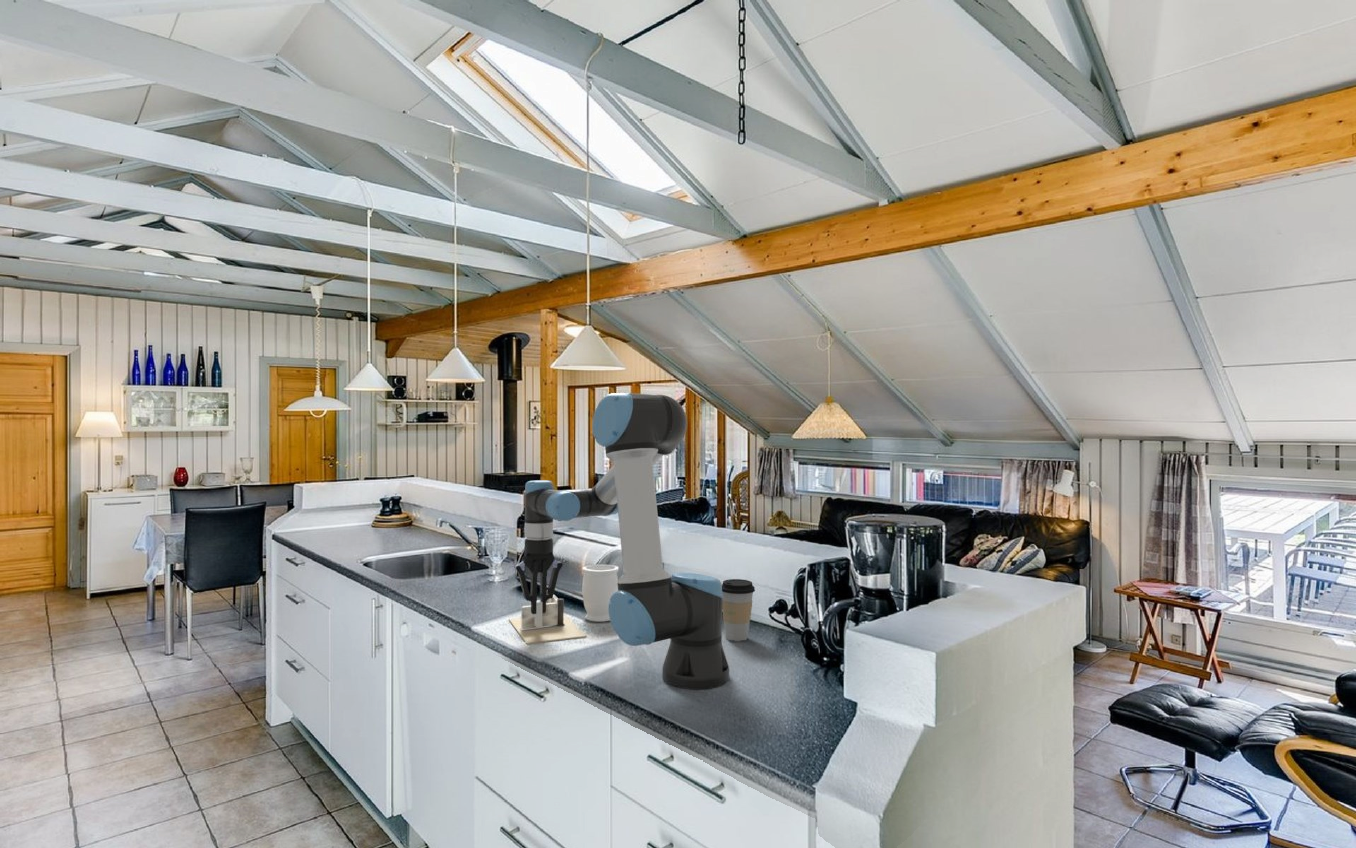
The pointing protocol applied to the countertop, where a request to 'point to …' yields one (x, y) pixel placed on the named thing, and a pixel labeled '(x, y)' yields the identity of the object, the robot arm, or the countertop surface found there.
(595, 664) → the countertop surface
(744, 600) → the coffee cup
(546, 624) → the fence flap
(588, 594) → the jar
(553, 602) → the fence fixed
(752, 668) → the countertop surface
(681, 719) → the countertop surface
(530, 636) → the card
